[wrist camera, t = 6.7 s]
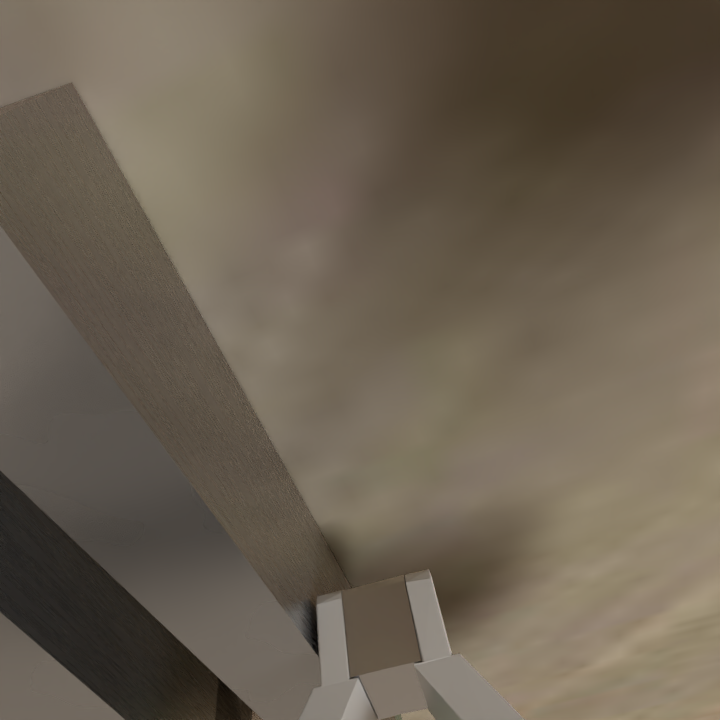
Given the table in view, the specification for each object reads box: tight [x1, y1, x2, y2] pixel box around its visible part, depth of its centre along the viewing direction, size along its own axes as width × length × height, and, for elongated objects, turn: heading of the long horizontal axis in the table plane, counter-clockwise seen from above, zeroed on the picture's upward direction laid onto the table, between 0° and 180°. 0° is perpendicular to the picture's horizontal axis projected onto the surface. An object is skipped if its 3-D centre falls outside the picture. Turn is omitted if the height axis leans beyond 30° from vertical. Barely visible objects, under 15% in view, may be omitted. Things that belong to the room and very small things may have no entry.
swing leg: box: [0, 83, 402, 720], centre depth 10 cm, size 17×2×4 cm, turn 16°
